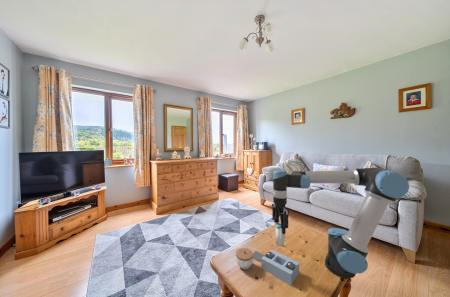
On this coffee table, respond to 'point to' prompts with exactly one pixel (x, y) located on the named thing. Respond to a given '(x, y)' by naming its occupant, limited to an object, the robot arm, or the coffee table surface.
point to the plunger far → (269, 255)
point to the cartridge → (279, 241)
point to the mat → (257, 256)
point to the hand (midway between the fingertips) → (279, 235)
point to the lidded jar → (244, 257)
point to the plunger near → (291, 266)
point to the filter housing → (280, 267)
